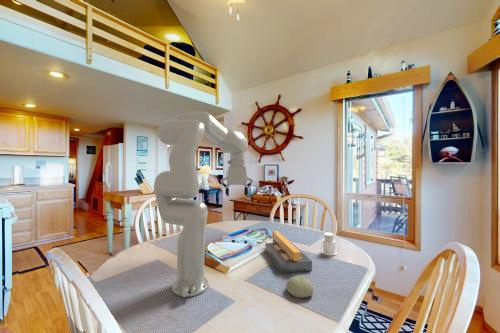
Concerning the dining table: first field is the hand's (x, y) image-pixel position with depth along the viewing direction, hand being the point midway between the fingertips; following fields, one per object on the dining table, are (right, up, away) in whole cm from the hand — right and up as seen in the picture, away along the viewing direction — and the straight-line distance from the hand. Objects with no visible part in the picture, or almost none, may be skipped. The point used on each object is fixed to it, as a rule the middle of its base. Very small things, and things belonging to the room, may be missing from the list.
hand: (236, 195), depth 117 cm
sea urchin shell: (+25, -30, -39) cm, 54 cm away
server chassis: (+24, -29, -9) cm, 38 cm away
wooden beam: (+24, -24, -10) cm, 35 cm away
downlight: (+48, -29, -3) cm, 56 cm away
